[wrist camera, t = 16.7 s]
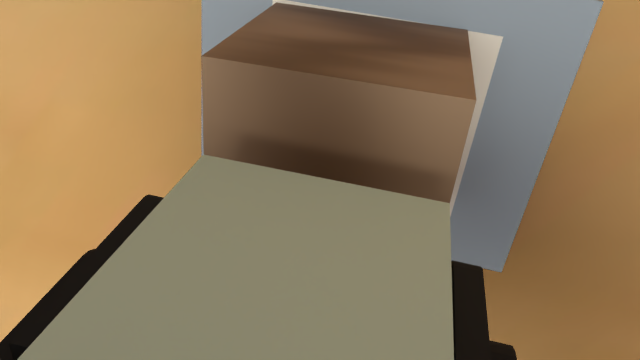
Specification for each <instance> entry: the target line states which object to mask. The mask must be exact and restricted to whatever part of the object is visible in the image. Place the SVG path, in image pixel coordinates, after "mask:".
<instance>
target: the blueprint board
mask: <svg viewBox="0 0 640 360" xmlns="http://www.w3.org/2000/svg"><path fill="white" fill-rule="evenodd" d="M276 2H278V3H285V4H292V5H299V6H306V7H312V8H319V9H326V10H333V11H340V12H347V13H354V14H361V15H368V16H375V17H382V18H389V19H396V20H403V21H410V22H417V23H424V24H431V25H437V26H444V27H451V28H458V29H465V30H468V37H469V45H470V53H471V61H472V69H473V77H474V85H475V93H476V104H475V108H474V112H473V116H472V119H471V123H470V127H469V131H468V135H467V139H466V143H465V146H464V150H463V154H462V158H461V162H460V166H459V170H458V173H457V177H456V181H455V185H454V189H453V193H452V197H451V200H450V231H451V261H452V260H453V261H458V262H463V263H467V264H472V265H477V266H481V267H482V268H484V269H488V270H493V271H497V272H502V269H503V267H504V264H505V261H506V259H507V256H508V254H509V251H510V248H511V246H512V243H513V240H514V238H515V235H516V232H517V230H518V227H519V224H520V222H521V219H522V217H523V214H524V211H525V209H526V206H527V203H528V201H529V198H530V195H531V193H532V190H533V187H534V185H535V182H536V180H537V177H538V174H539V172H540V169H541V166H542V164H543V161H544V158H545V156H546V153H547V150H548V148H549V145H550V142H551V140H552V137H553V135H554V132H555V129H556V127H557V124H558V121H559V119H560V116H561V113H562V111H563V108H564V105H565V103H566V100H567V98H568V95H569V92H570V90H571V87H572V84H573V82H574V79H575V76H576V74H577V71H578V68H579V66H580V63H581V61H582V58H583V55H584V53H585V50H586V47H587V45H588V42H589V39H590V37H591V34H592V31H593V29H594V26H595V24H596V21H597V18H598V16H599V13H600V10H601V8H602V5H603V1H602V0H202V55H203V54H205V53H206V52H208V51H209V50H210V49H212V48H213V47H215V46H216V45H217V44H219V43H220V42H222V41H223V40H224V39H226V38H227V37H229V36H230V35H231V34H233V33H234V32H236V31H237V30H238V29H240V28H241V27H243V26H244V25H245V24H247V23H248V22H250V21H251V20H252V19H254V18H255V17H257V16H258V15H259V14H261V13H262V12H264V11H265V10H266V9H268V8H269V7H271V6H272V5H273V4H275V3H276ZM203 154H204V149H203V103H202V156H203Z"/></svg>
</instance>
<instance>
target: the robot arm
mask: <svg viewBox="0 0 640 360" xmlns="http://www.w3.org/2000/svg"><path fill="white" fill-rule="evenodd" d="M162 200H163V198H162V197H158V196H153V195H146V196H145V197H144V198H143V199H142V200H141V201H140V202H139V203H138V204H137V205H136V206H135V207H134V208H133V209H132V210H131V212H130V213H129V214H128V215H127V216H126V217H125V218H124V219H123V220H122V221H121V222H120V223H119V224H118V226H117V227H116V228H115V229H114V230H113V231H112V232H111V233H110V234H109V235H108V236H107V237H106V238H105V239H104V241H103V242H102V243H101V244H100V245H99V246H98V247H97V248H96V249H93V250H90V251H88V252H87V253H85V254H84V255H83V256H82V257H81V258H80V259H79V260H78V261H77V262H76V263H75V264H74V265H73V266H72V268H71V269H70V270H69V271H68V272H67V273H66V274H65V275H64V276H63V277H62V278H61V279H60V280H59V281H58V282H57V283H56V284H55V285H54V286H53V288H52V289H51V290H50V291H49V292H48V293H47V294H46V295H45V296H44V297H43V298H42V299H41V300H40V301H39V302H38V303H37V304H36V305H35V306H34V308H33V309H32V310H31V311H30V312H29V313H28V314H27V315H26V316H25V317H24V318H23V319H22V320H21V321H20V322H19V323H18V324H17V325H16V327H15V328H14V329H13V330H12V331H11V332H10V333H9V334H8V335H7V336H6V337H5V338H4V339H3V340H2V341H1V342H0V360H17V359H18V358H19V357H20V356H21V355H22V354H23V353H24V351H25V350H26V349H27V348H28V347H29V346H30V345H31V344H32V343H33V342H34V340H35V339H36V338H37V337H38V336H39V335H40V334H41V333H42V332H43V331H44V329H45V328H46V327H47V326H48V325H49V324H50V323H51V322H52V321H53V320H54V318H55V317H56V316H57V315H58V314H59V313H60V312H61V311H62V310H63V309H64V307H65V306H66V305H67V304H68V303H69V302H70V301H71V300H72V299H73V298H74V296H75V295H76V294H77V293H78V292H79V291H80V290H81V289H82V288H83V287H84V285H85V284H86V283H87V282H88V281H89V280H90V279H91V278H92V277H93V276H94V274H95V273H96V272H97V271H98V270H99V269H100V268H101V267H102V266H103V265H104V263H105V262H106V261H107V260H108V259H109V258H110V257H111V256H112V255H113V254H114V252H115V251H116V250H117V249H118V248H119V247H120V246H121V245H122V244H123V242H124V241H125V240H126V239H127V238H128V237H129V236H130V235H131V234H132V233H133V231H134V230H135V229H136V228H137V227H138V226H139V225H140V224H141V223H142V222H143V220H144V219H145V218H146V217H147V216H148V215H149V214H150V213H151V212H152V211H153V209H154V208H155V207H156V206H157V205H158V204H159V203H160V202H161V201H162ZM451 268H452V305H453V342H454V360H517V357H516V353H515V350H514V348H513V346H511V345H506V344H502V343H498V342H494V341H489V332H488V321H487V310H486V300H485V289H484V278H483V270H482V267H481V266H477V265H472V264H467V263H463V262H458V261H453V260H452V261H451Z"/></svg>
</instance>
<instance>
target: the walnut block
mask: <svg viewBox="0 0 640 360" xmlns="http://www.w3.org/2000/svg"><path fill="white" fill-rule="evenodd" d="M201 58H202V103H203V149H204V155H209V156H214V157H219V158H224V159H229V160H234V161H239V162H244V163H249V164H254V165H259V166H264V167H269V168H274V169H279V170H284V171H290V172H295V173H300V174H305V175H310V176H315V177H320V178H325V179H330V180H335V181H340V182H345V183H350V184H355V185H360V186H365V187H370V188H375V189H380V190H385V191H391V192H396V193H401V194H406V195H411V196H416V197H421V198H426V199H431V200H436V201H441V202H446V203H450V200H451V197H452V193H453V189H454V185H455V181H456V177H457V173H458V170H459V166H460V162H461V158H462V154H463V150H464V146H465V143H466V139H467V135H468V131H469V127H470V123H471V119H472V116H473V112H474V108H475V104H476V93H475V85H474V77H473V69H472V61H471V53H470V45H469V37H468V30H465V29H458V28H451V27H444V26H437V25H431V24H424V23H417V22H410V21H403V20H396V19H389V18H382V17H375V16H368V15H361V14H354V13H347V12H340V11H333V10H326V9H319V8H312V7H306V6H299V5H292V4H285V3H278V2H276V3H275V4H273V5H272V6H271V7H269V8H268V9H266V10H265V11H264V12H262V13H261V14H259V15H258V16H257V17H255V18H254V19H252V20H251V21H250V22H248V23H247V24H245V25H244V26H243V27H241V28H240V29H238V30H237V31H236V32H234V33H233V34H231V35H230V36H229V37H227V38H226V39H224V40H223V41H222V42H220V43H219V44H217V45H216V46H215V47H213V48H212V49H210V50H209V51H208V52H206V53H205V54H203V55H202V56H201Z"/></svg>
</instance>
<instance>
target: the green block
mask: <svg viewBox="0 0 640 360" xmlns="http://www.w3.org/2000/svg"><path fill="white" fill-rule="evenodd" d="M17 360H454V342H453V305H452V268H451V231H450V203H446V202H441V201H436V200H431V199H426V198H421V197H416V196H411V195H406V194H401V193H396V192H391V191H385V190H380V189H375V188H370V187H365V186H360V185H355V184H350V183H345V182H340V181H335V180H330V179H325V178H320V177H315V176H310V175H305V174H300V173H295V172H290V171H284V170H279V169H274V168H269V167H264V166H259V165H254V164H249V163H244V162H239V161H234V160H229V159H224V158H219V157H214V156H209V155H204V154H203V156H202V157H201V158H200V159H199V160H198V161H197V162H196V163H195V164H194V165H193V167H192V168H191V169H190V170H189V171H188V172H187V173H186V174H185V175H184V176H183V178H182V179H181V180H180V181H179V182H178V183H177V184H176V185H175V186H174V187H173V189H172V190H171V191H170V192H169V193H168V194H167V195H166V196H165V197H164V198H163V200H162V201H161V202H160V203H159V204H158V205H157V206H156V207H155V208H154V209H153V211H152V212H151V213H150V214H149V215H148V216H147V217H146V218H145V219H144V220H143V222H142V223H141V224H140V225H139V226H138V227H137V228H136V229H135V230H134V231H133V233H132V234H131V235H130V236H129V237H128V238H127V239H126V240H125V241H124V242H123V244H122V245H121V246H120V247H119V248H118V249H117V250H116V251H115V252H114V254H113V255H112V256H111V257H110V258H109V259H108V260H107V261H106V262H105V263H104V265H103V266H102V267H101V268H100V269H99V270H98V271H97V272H96V273H95V274H94V276H93V277H92V278H91V279H90V280H89V281H88V282H87V283H86V284H85V285H84V287H83V288H82V289H81V290H80V291H79V292H78V293H77V294H76V295H75V296H74V298H73V299H72V300H71V301H70V302H69V303H68V304H67V305H66V306H65V307H64V309H63V310H62V311H61V312H60V313H59V314H58V315H57V316H56V317H55V318H54V320H53V321H52V322H51V323H50V324H49V325H48V326H47V327H46V328H45V329H44V331H43V332H42V333H41V334H40V335H39V336H38V337H37V338H36V339H35V340H34V342H33V343H32V344H31V345H30V346H29V347H28V348H27V349H26V350H25V351H24V353H23V354H22V355H21V356H20V357H19V358H18V359H17Z"/></svg>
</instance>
